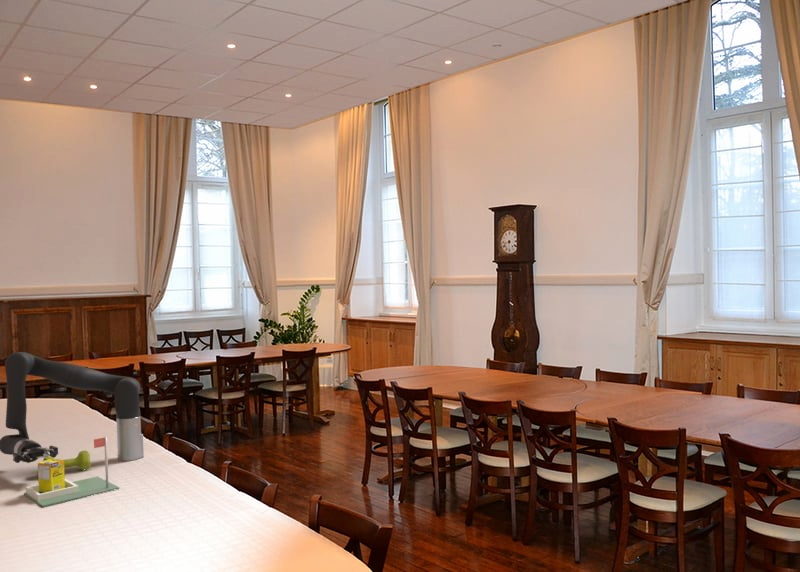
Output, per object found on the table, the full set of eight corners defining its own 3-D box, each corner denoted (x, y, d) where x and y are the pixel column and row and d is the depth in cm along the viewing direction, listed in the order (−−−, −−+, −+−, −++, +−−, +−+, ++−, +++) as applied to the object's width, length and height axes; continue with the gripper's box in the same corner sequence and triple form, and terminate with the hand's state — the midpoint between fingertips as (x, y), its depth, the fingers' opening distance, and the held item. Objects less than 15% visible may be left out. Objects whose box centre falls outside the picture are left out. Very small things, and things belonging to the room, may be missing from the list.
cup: (97, 477, 254) (95, 428, 253) (119, 489, 239) (117, 436, 239) (24, 494, 236) (22, 441, 236) (43, 507, 222) (41, 451, 221)
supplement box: (65, 490, 238) (64, 459, 238) (51, 495, 232) (50, 463, 232) (52, 488, 240) (51, 458, 240) (38, 494, 234) (37, 462, 234)
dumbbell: (45, 479, 254) (44, 460, 254) (41, 474, 261) (41, 455, 261) (92, 470, 264) (91, 452, 264) (87, 466, 270) (87, 448, 270)
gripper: (6, 444, 251) (19, 451, 239) (47, 436, 261) (62, 442, 249) (7, 464, 251) (20, 472, 239) (48, 455, 261) (63, 463, 250)
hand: (42, 457), depth 244 cm, fingers open, 8 cm apart
